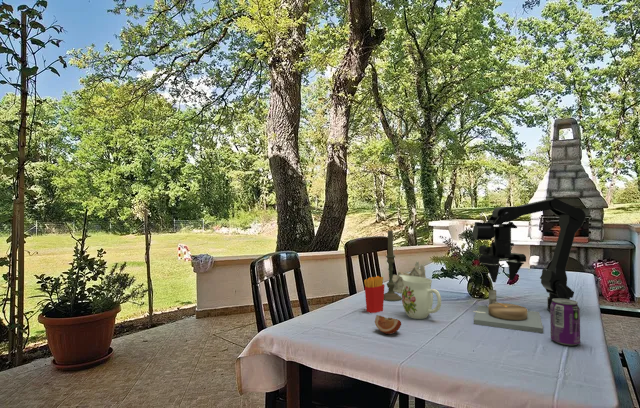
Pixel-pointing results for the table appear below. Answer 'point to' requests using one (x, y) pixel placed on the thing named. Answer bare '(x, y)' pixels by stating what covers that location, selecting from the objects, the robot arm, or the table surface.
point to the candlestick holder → (390, 259)
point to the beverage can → (565, 321)
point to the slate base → (509, 321)
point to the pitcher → (418, 297)
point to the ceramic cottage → (414, 272)
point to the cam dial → (505, 309)
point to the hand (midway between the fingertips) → (502, 281)
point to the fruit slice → (387, 324)
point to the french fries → (374, 294)
